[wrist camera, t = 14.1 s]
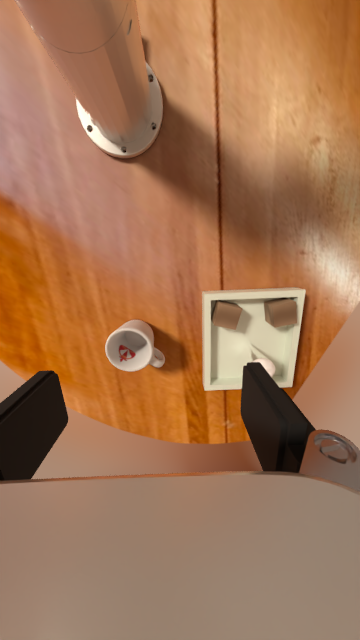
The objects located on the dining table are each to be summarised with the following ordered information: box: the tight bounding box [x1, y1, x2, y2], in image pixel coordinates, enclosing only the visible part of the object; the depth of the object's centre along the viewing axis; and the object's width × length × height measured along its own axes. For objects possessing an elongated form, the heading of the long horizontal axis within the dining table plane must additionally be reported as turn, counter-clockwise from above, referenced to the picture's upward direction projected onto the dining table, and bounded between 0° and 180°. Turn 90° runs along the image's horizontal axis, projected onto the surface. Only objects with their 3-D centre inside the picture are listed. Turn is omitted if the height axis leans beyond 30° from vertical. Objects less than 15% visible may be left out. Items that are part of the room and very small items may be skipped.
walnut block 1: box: [211, 300, 242, 330], centre depth 38 cm, size 4×4×4 cm
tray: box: [202, 287, 306, 390], centre depth 41 cm, size 20×18×3 cm
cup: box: [105, 320, 165, 371], centre depth 38 cm, size 11×8×8 cm
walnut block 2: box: [264, 297, 297, 328], centre depth 38 cm, size 4×4×4 cm
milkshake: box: [238, 343, 275, 377], centre depth 38 cm, size 5×5×10 cm
